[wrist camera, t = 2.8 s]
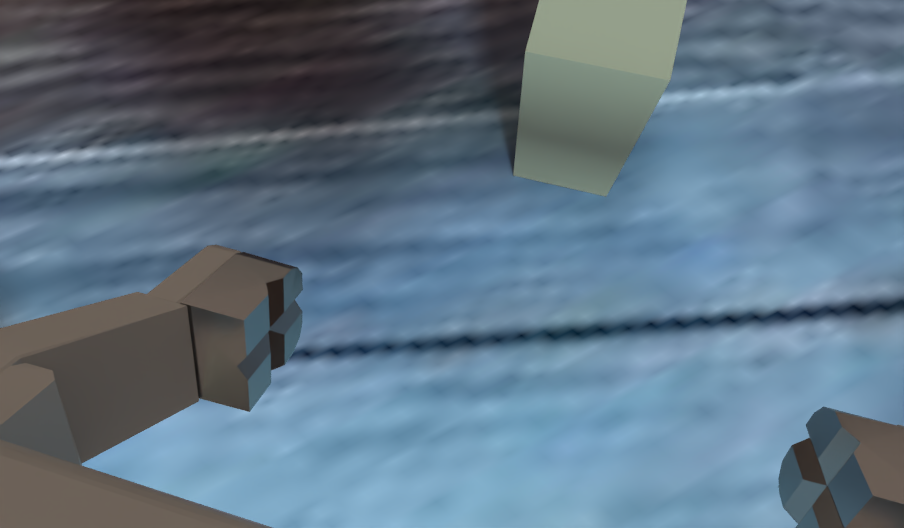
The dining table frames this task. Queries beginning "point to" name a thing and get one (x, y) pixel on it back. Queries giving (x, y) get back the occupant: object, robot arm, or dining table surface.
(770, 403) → the dining table surface
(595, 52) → the sage block
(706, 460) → the dining table surface
